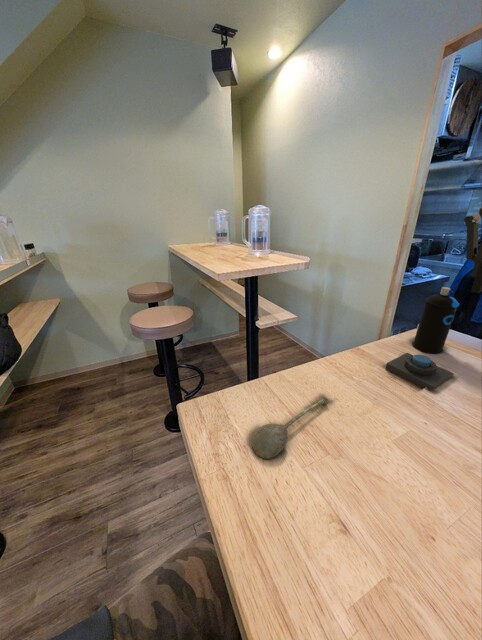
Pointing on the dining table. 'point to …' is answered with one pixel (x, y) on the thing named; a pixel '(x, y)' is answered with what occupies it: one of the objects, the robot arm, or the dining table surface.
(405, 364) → the button housing
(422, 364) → the push top
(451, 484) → the dining table surface
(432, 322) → the aerosol can
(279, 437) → the soupspoon
